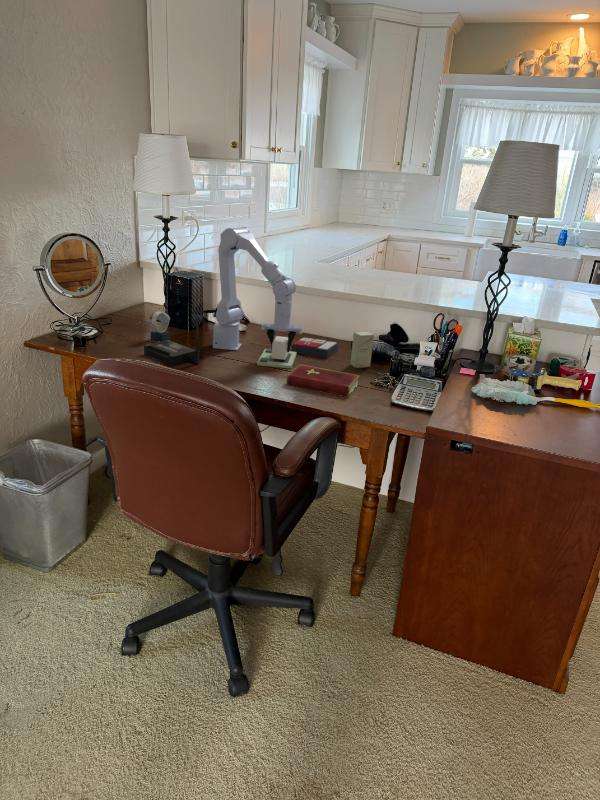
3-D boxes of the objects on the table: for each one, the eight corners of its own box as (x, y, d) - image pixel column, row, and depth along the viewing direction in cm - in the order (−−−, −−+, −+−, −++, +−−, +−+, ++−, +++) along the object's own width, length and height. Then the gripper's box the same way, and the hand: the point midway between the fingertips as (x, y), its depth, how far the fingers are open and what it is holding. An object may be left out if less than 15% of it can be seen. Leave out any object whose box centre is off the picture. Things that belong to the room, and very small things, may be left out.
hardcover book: (348, 399, 174) (349, 386, 172) (286, 386, 180) (286, 374, 178) (358, 386, 184) (359, 374, 183) (299, 375, 190) (300, 363, 189)
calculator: (303, 336, 220) (338, 341, 215) (302, 346, 222) (337, 352, 216) (291, 343, 211) (327, 348, 205) (290, 353, 213) (327, 359, 207)
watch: (172, 338, 217) (172, 311, 212) (159, 343, 210) (158, 315, 206) (160, 336, 219) (160, 308, 214) (147, 341, 212) (146, 312, 208)
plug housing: (271, 358, 197) (272, 343, 195) (275, 350, 206) (276, 335, 204) (285, 359, 197) (286, 344, 195) (288, 351, 205) (289, 337, 203)
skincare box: (356, 368, 199) (359, 335, 195) (349, 364, 203) (353, 332, 198) (370, 366, 202) (374, 334, 198) (363, 362, 206) (367, 330, 201)
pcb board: (257, 365, 195) (257, 354, 194) (264, 351, 210) (265, 341, 208) (290, 368, 194) (291, 357, 193) (296, 354, 209) (297, 344, 208)
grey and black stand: (140, 356, 197) (137, 308, 190) (171, 348, 207) (170, 303, 200) (176, 371, 185) (175, 321, 179) (208, 362, 195) (208, 315, 189)
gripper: (260, 314, 192) (258, 352, 198) (301, 318, 191) (299, 356, 197) (263, 309, 199) (262, 346, 204) (304, 313, 198) (301, 350, 203)
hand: (280, 350), depth 201 cm, fingers closed on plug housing, 5 cm apart
